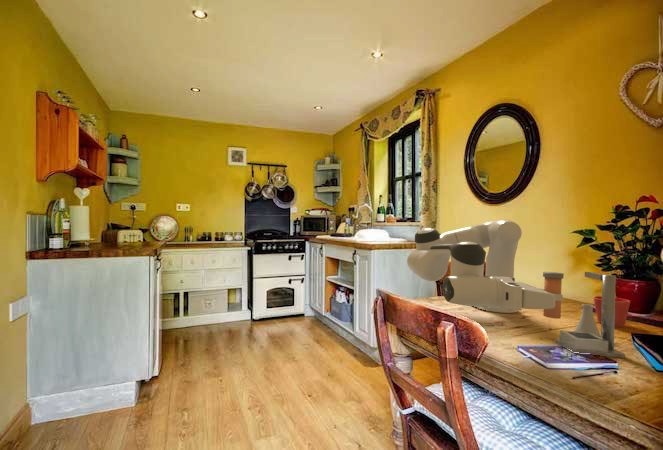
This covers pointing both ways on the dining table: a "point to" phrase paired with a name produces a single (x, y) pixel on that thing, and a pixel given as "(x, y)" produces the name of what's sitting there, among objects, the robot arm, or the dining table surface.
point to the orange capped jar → (553, 286)
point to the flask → (587, 321)
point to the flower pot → (620, 310)
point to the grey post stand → (605, 344)
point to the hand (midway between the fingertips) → (556, 295)
